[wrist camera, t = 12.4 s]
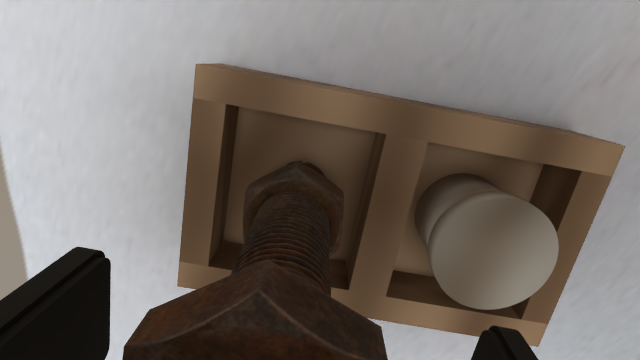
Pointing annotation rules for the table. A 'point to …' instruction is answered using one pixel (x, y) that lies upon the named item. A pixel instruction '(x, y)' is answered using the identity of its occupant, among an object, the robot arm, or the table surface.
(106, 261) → the robot arm
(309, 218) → the bolt
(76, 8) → the table surface
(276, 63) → the table surface
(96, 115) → the table surface
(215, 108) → the wooden divided tray
